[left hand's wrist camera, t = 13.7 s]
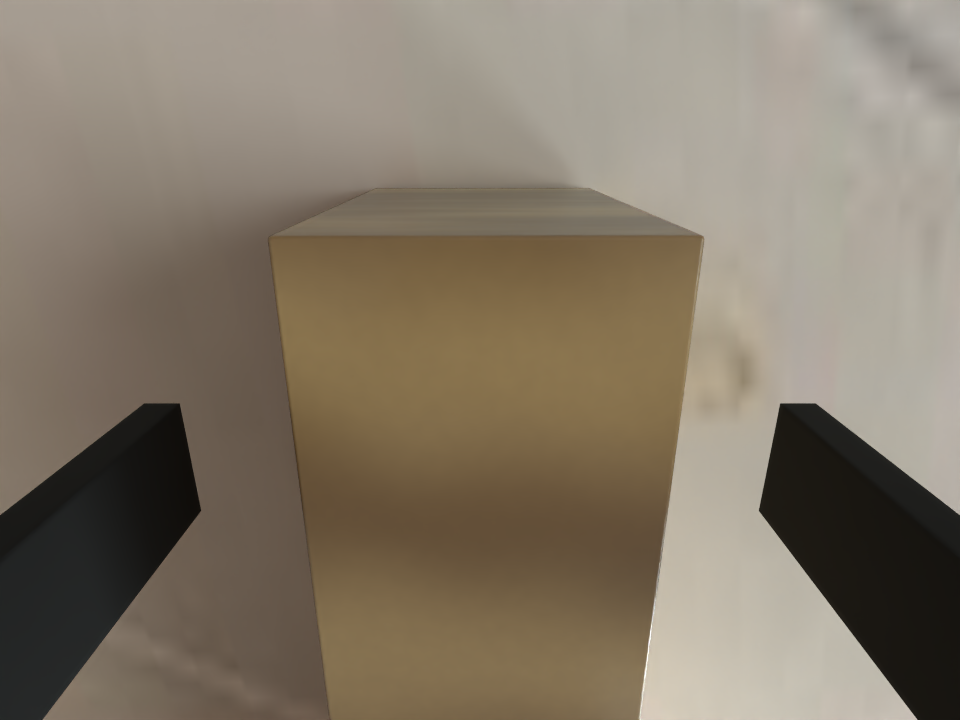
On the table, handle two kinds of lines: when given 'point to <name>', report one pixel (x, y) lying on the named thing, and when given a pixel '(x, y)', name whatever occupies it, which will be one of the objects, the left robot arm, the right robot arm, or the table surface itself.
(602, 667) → the bar
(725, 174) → the table surface
